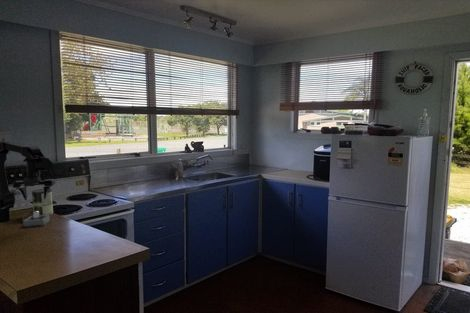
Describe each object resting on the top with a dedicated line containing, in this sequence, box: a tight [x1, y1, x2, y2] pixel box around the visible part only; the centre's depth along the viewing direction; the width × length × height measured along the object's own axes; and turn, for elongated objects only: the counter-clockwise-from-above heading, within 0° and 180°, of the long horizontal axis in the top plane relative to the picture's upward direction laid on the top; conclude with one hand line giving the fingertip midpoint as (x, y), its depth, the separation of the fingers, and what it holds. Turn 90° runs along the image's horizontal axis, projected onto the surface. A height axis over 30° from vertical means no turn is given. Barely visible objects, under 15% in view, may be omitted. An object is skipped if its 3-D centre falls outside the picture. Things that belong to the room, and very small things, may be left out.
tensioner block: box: [21, 210, 40, 223], centre depth 190 cm, size 9×6×4 cm, turn 12°
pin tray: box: [22, 215, 51, 228], centre depth 182 cm, size 10×10×3 cm
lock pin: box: [33, 211, 39, 220], centre depth 182 cm, size 2×2×6 cm
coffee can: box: [31, 188, 54, 216], centre depth 202 cm, size 10×10×14 cm
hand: (35, 199), depth 181 cm, fingers open, 9 cm apart
